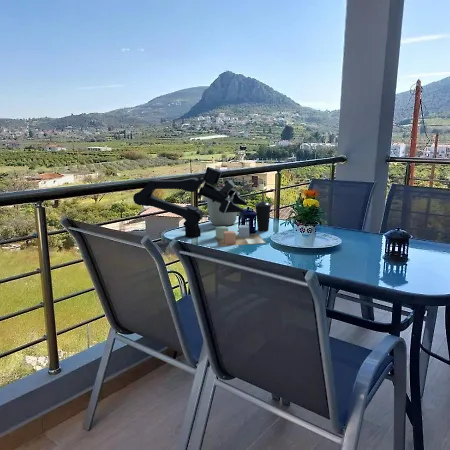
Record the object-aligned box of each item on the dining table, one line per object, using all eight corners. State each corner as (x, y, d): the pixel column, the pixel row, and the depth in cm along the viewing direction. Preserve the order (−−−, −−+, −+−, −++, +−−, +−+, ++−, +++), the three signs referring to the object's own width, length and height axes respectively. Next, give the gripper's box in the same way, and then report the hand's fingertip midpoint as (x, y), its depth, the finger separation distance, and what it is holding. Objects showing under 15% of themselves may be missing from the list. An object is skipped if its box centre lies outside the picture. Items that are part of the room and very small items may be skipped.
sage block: (218, 239, 179) (218, 229, 178) (215, 236, 183) (215, 227, 182) (228, 238, 180) (228, 228, 179) (225, 235, 185) (225, 226, 184)
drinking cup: (272, 234, 190) (271, 191, 185) (255, 234, 190) (255, 192, 186) (270, 230, 197) (270, 189, 193) (254, 230, 197) (254, 190, 193)
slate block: (239, 237, 181) (239, 227, 180) (238, 235, 185) (238, 225, 184) (249, 237, 181) (249, 227, 180) (248, 234, 185) (248, 225, 184)
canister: (243, 226, 207) (242, 185, 202) (207, 228, 205) (206, 187, 200) (237, 219, 225) (236, 181, 220) (204, 221, 222) (203, 183, 218)
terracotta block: (225, 244, 171) (224, 233, 170) (223, 241, 175) (223, 231, 174) (235, 243, 171) (235, 233, 170) (234, 240, 175) (233, 230, 174)
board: (219, 248, 168) (219, 246, 168) (214, 238, 185) (214, 236, 184) (266, 245, 171) (266, 243, 171) (257, 236, 187) (257, 233, 187)
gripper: (214, 183, 168) (249, 198, 168) (223, 172, 185) (255, 185, 185) (205, 206, 173) (239, 220, 172) (215, 193, 190) (245, 206, 189)
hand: (245, 207), depth 180 cm, fingers open, 9 cm apart
